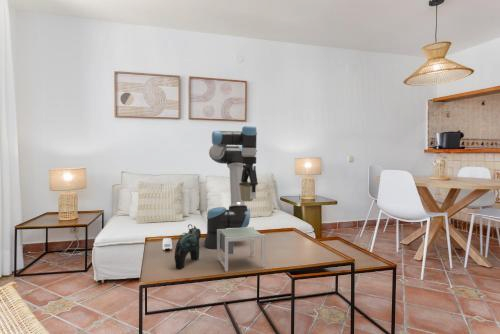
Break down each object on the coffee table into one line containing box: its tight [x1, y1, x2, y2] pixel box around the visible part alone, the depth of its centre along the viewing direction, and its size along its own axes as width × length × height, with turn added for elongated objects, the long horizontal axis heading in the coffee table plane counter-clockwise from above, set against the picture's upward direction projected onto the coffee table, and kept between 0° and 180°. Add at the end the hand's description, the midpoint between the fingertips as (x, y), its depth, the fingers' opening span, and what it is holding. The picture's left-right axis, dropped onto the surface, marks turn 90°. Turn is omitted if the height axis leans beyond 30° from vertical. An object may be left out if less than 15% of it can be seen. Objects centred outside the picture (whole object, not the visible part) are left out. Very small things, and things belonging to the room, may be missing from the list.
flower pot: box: [239, 181, 258, 202], centre depth 167 cm, size 9×9×9 cm
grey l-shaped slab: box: [220, 228, 261, 255], centre depth 164 cm, size 18×14×9 cm
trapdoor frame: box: [216, 226, 266, 272], centre depth 164 cm, size 20×18×16 cm
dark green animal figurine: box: [174, 223, 202, 270], centre depth 164 cm, size 20×6×20 cm, turn 159°
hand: (248, 197), depth 165 cm, fingers open, 13 cm apart
